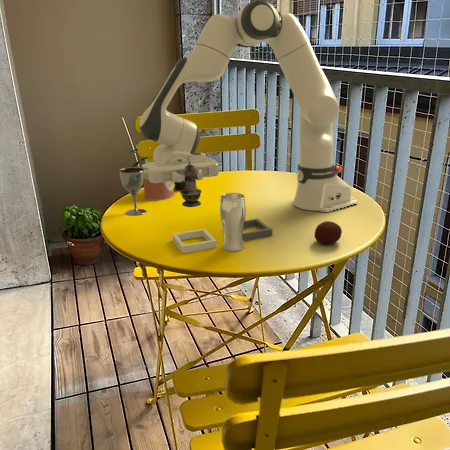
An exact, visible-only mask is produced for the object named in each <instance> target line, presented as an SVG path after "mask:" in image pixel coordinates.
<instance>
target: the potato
mask: <svg viewBox="0 0 450 450" xmlns="http://www.w3.org/2000/svg"><path fill="white" fill-rule="evenodd" d="M342 232H343V231H342V228H341V226H340V225H339V224H338V223H336V222H333V221H330V220H329V221H328V220H326V221H322V222H321V223H319V224H318V225H317V226H316V228H315V230H314V239H315V240H316V242H318V243H320V244H325V245H330V244H331V245H332V244H335V243H336V242H338V241H339V240H340V239H341V236H342V235H343V233H342Z"/></svg>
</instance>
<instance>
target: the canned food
mask: <svg viewBox="0 0 450 450" xmlns="http://www.w3.org/2000/svg"><path fill="white" fill-rule="evenodd" d="M151 165H155V163H154V161H149V162H146V163H143V164H141V168H143V169H144V170H147V169H148V166H151ZM143 193H144V198H145V199H146V200H149V201H163V200H164V199H165V200H169V199H172V198H173V197H174V196H175V187H174V182H173V181H171V182H163V183H150V181H149V179H148V175H146V174H145V173H144V184H143Z"/></svg>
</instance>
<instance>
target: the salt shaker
mask: <svg viewBox="0 0 450 450" xmlns="http://www.w3.org/2000/svg"><path fill="white" fill-rule="evenodd" d="M196 179H197V177H195V167H194V166H193V165H191V164H190V162H189V164H188V165H187V166H185V189H184V190H182V191H180V192H179V193H180V194H181V198H182V199H183V200H184V201H183V202H182V203H181V205H182V207H185V208H195V207H198V206H201V205H202V203H201V201H199V199H201V194H202V190H201V189H199V188H197V180H196Z"/></svg>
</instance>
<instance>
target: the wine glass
mask: <svg viewBox="0 0 450 450" xmlns="http://www.w3.org/2000/svg"><path fill="white" fill-rule="evenodd" d="M119 178H120V181H121V184H122V187H123V188H124V189H125V191H127V192H128V193H129V194H130V195H131V197H132V202H133V206H134V208H132V209H129V210H126V211H125V215H126V216H131V217H136V216H141V215H144V214H146V213H147V210H146V209H144V208H138V206H137V196H138V194H139V192H140V191H141V189H142V188H143V187H144V169H143V168H142V166H141V167H140V166H131V167H130V166H128V167H123V168H121V169H119Z"/></svg>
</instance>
